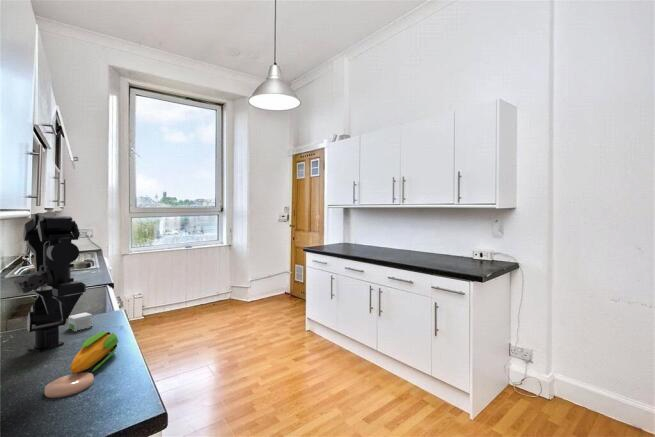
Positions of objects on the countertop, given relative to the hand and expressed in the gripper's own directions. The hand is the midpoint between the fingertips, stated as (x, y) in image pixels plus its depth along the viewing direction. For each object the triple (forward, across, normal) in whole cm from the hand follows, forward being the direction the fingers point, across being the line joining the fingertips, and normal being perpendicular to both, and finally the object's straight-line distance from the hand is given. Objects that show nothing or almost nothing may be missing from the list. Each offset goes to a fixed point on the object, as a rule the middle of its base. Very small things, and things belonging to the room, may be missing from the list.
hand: (57, 316), depth 86 cm
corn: (+13, +10, +5) cm, 17 cm away
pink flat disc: (+13, +18, -4) cm, 23 cm away
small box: (+13, -27, +17) cm, 35 cm away
